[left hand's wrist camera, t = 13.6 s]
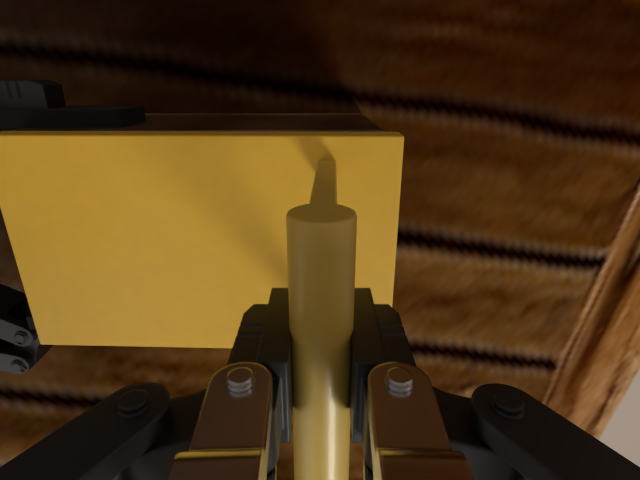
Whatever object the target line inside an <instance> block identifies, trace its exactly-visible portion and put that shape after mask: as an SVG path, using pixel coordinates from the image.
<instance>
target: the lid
mask: <svg viewBox="0 0 640 480" xmlns="http://www.w3.org/2000/svg"><path fill="white" fill-rule="evenodd" d="M403 147H404V136H403V135H402V134H401V133H399V132H265V131H0V209H1V212H2V215H3V219H4V222H5V226H6V229H7V232H8V236H9V239H10V243H11V246H12V249H13V253H14V256H15V260H16V263H17V266H18V270H19V273H20V277H21V280H22V283H23V287H24V290H25V294H26V297H27V300H28V304H29V307H30V311H31V314H32V317H33V321H34V324H35V328H36V331H37V334H38V338H39V341H40V344H41V345H91V346H144V347H197V348H233V345H234V342H235V338H236V336H237V332H238V329H239V326H240V323H241V320H242V317H243V314H244V313H245V312H246V311H247V310H248V309H249V308H250V307H251V306H252V305H253V304H268V302H269V298H270V294H271V289H272V288H288V296H289V326H290V331H291V352H292V385H293V415H292V417H293V448H294V478H295V480H348V478H349V448H350V410H349V402H350V371H351V340H352V332H353V325H354V294H355V288H370V289H371V293H372V297H373V301H374V304H389V305H390V306H391V307H392V302H393V288H394V274H395V260H396V246H397V232H398V218H399V204H400V189H401V175H402V161H403Z"/></svg>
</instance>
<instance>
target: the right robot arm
mask: <svg viewBox="0 0 640 480" xmlns="http://www.w3.org/2000/svg"><path fill="white" fill-rule="evenodd" d="M142 122H146V117H145V110H144V106H66V104H65V99H64V94H63V90H62V85H60V84H58V83H55V82H53V81H50V80H0V128H122V127H126V126H130V125H134V124H138V123H142ZM52 346H53V345H41V344H40V341H39V338H38V334H37V331H36V328H35V324H34V321H33V317H32V314H31V311H30V307H29V304H28V300H27V297H26V294H24V293H22V292H19V291H17V290H14V289H12V288H9V287H7V286H4V285H2V284H0V371H3V372H8V373H14V374H25V373H27V372H28V371H29V370H30V369H31V368H32V367H33V366H34V365H35V364H36V363H37V362H38V361H39V360H40V359H41V358H42V357H43V356H44V355H45V354H46V353H47V352H48V351H49V349H50V348H51V347H52Z"/></svg>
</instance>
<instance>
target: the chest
mask: <svg viewBox="0 0 640 480" xmlns="http://www.w3.org/2000/svg"><path fill="white" fill-rule="evenodd" d="M145 117H146V122H142V123H138V124H134V125H130V126H126V127H122V128H18V129H12V130H7V131H265V132H383V130H382V129H381V128H380V127H378V126H377V125H376V124H374V123H373V122H372V121H370V120H369V119H368V118H366V117H365V116H364V114H362V113H145Z"/></svg>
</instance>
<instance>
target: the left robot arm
mask: <svg viewBox="0 0 640 480" xmlns="http://www.w3.org/2000/svg"><path fill="white" fill-rule="evenodd" d="M349 410H350V421H351V433H352V443H363V451H364V463H363V479H364V480H640V467H638V466H637V465H635V464H634V463H632V462H631V461H629V460H628V459H626V458H625V457H623V456H622V455H620V454H619V453H617V452H616V451H614V450H613V449H611V448H609V447H608V446H606V445H605V444H603V443H602V442H600V441H599V440H597V439H596V438H594V437H593V436H591V435H590V434H588V433H587V432H585V431H584V430H582V429H581V428H579V427H577V426H576V425H574V424H573V423H571V422H570V421H568V420H567V419H565V418H564V417H562V416H561V415H559V414H558V413H556V412H555V411H553V410H552V409H550V408H548V407H547V406H545V405H544V404H542V403H541V402H539V401H538V400H536V399H535V398H533V397H532V396H530V395H529V394H527V393H525V392H524V391H522V390H520V389H517V388H515V387H512V386H508V385H504V384H494V383H493V384H485V385H482V386H480V387H478V388H477V389H475V391H474V392H473V394H472V398H466V397H462V396H458V395H453V394H450V393H446V392H443V391H441V390H439V389H437V388H435V387H433V386H432V384H431V381H430V379H429V377H428V376H427V375H426V374H425V373H424V372H423V371H422V370H420V369H419V368H417V367H416V364H415V361H414V358H413V355H412V352H411V349H410V346H409V343H408V340H407V337H406V336H405V331H404V328H403V326H402V322H401V319H400V316H399V313H397V312H396V311H395V310H394V309H393V308H392V307H391V306H390V305H389V304H374V301H373V297H372V293H371V289H370V288H355V294H354V325H353V332H352V340H351V371H350V402H349ZM292 415H293V385H292V352H291V331H290V326H289V296H288V288H272V289H271V294H270V298H269V302H268V304H253V305H252V306H251V307H250V308H249V309H248V310H247V311H246V312H245V313H244V314H243V317H242V320H241V323H240V326H239V329H238V332H237V336H236V338H235V342H234V345H233V348H232V351H231V354H230V357H229V360H228V363H227V366H225V367H223V368H221V369H220V370H218V371H217V372H216V373H215V374H214V375H213V376H212V377H211V379H210V381H209V384H208V387H207V388H206V389H204V390H202V391H199V392H197V393H193V394H189V395H185V396H181V397H176V398H172V399H170V394H169V392H168V390H167V389H166V388H165V387H164V386H162V385H160V384H156V383H149V382H147V383H137V384H133V385H130V386H127V387H124V388H122V389H120V390H118V391H116V392H115V393H113V394H111V395H110V396H108V397H107V398H105V399H104V400H102V401H101V402H99V403H98V404H96V405H95V406H93V407H92V408H90V409H88V410H87V411H85V412H84V413H82V414H81V415H79V416H78V417H76V418H75V419H73V420H72V421H70V422H69V423H67V424H66V425H64V426H63V427H61V428H60V429H58V430H56V431H55V432H53V433H52V434H50V435H49V436H47V437H46V438H44V439H43V440H41V441H40V442H38V443H37V444H35V445H34V446H32V447H31V448H29V449H27V450H26V451H24V452H23V453H21V454H20V455H18V456H17V457H15V458H14V459H12V460H11V461H9V462H8V463H6V464H5V465H3V466H2V467H0V480H276V479H277V461H278V457H279V449H280V443H290V439H291V427H292Z"/></svg>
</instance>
